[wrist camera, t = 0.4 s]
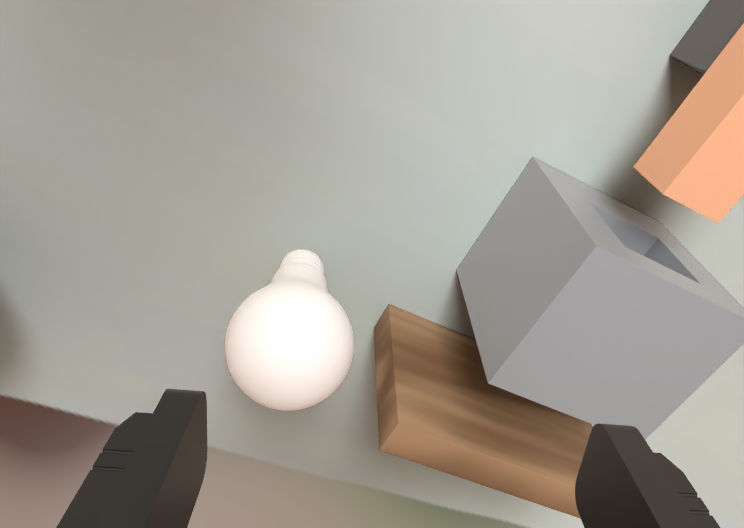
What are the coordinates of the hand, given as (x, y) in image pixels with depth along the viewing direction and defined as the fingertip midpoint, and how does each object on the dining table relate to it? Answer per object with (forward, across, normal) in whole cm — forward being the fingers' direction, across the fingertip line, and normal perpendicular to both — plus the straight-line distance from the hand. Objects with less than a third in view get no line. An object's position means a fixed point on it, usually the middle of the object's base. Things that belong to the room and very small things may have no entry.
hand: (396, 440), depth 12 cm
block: (+23, -11, +4) cm, 26 cm away
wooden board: (+24, -8, +12) cm, 28 cm away
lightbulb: (+23, +4, +6) cm, 24 cm away
